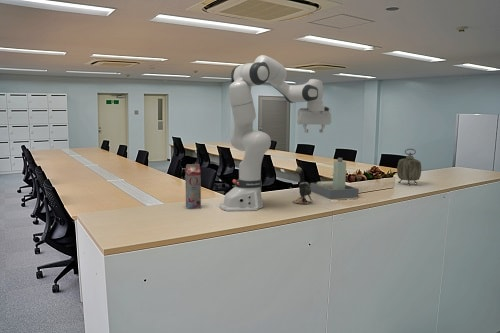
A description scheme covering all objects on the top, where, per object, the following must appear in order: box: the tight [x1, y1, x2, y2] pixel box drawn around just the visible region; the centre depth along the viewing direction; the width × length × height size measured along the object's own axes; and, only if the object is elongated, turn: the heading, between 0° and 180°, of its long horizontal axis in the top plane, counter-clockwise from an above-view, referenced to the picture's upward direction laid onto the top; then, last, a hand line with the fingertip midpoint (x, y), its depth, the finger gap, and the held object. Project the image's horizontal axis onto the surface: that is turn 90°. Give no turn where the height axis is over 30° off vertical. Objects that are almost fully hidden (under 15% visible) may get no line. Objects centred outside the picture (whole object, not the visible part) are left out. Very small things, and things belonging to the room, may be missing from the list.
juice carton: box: [184, 163, 202, 210], centre depth 196 cm, size 7×7×22 cm
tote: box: [309, 182, 360, 201], centre depth 229 cm, size 18×24×6 cm
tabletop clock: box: [396, 148, 422, 185], centre depth 268 cm, size 14×9×25 cm, turn 77°
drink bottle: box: [332, 157, 347, 190], centre depth 222 cm, size 5×5×22 cm
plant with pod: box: [292, 166, 313, 205], centre depth 208 cm, size 8×11×20 cm
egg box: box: [315, 180, 333, 190], centre depth 235 cm, size 12×8×6 cm, turn 109°
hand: (313, 132), depth 225 cm, fingers open, 8 cm apart
